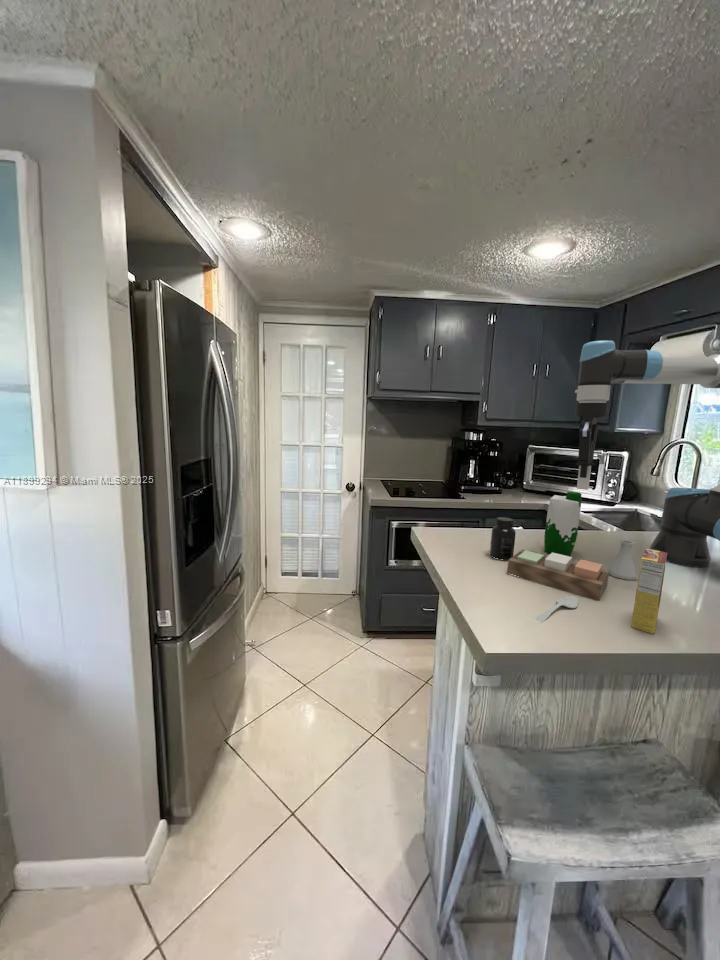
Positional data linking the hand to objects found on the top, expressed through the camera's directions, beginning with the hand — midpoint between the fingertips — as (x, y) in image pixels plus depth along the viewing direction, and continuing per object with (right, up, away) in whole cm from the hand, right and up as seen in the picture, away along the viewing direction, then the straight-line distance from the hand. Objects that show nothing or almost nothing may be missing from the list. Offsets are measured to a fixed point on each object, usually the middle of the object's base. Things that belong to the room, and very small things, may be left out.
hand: (582, 488), depth 109 cm
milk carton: (+2, -21, +18) cm, 28 cm away
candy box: (-1, -28, -25) cm, 38 cm away
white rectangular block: (-9, -22, -4) cm, 24 cm away
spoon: (-19, -28, -22) cm, 40 cm away
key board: (-9, -24, -4) cm, 26 cm away
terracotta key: (-4, -23, -9) cm, 25 cm away
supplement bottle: (-19, -21, +11) cm, 31 cm away
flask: (+11, -25, +1) cm, 27 cm away
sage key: (-15, -23, 0) cm, 27 cm away
